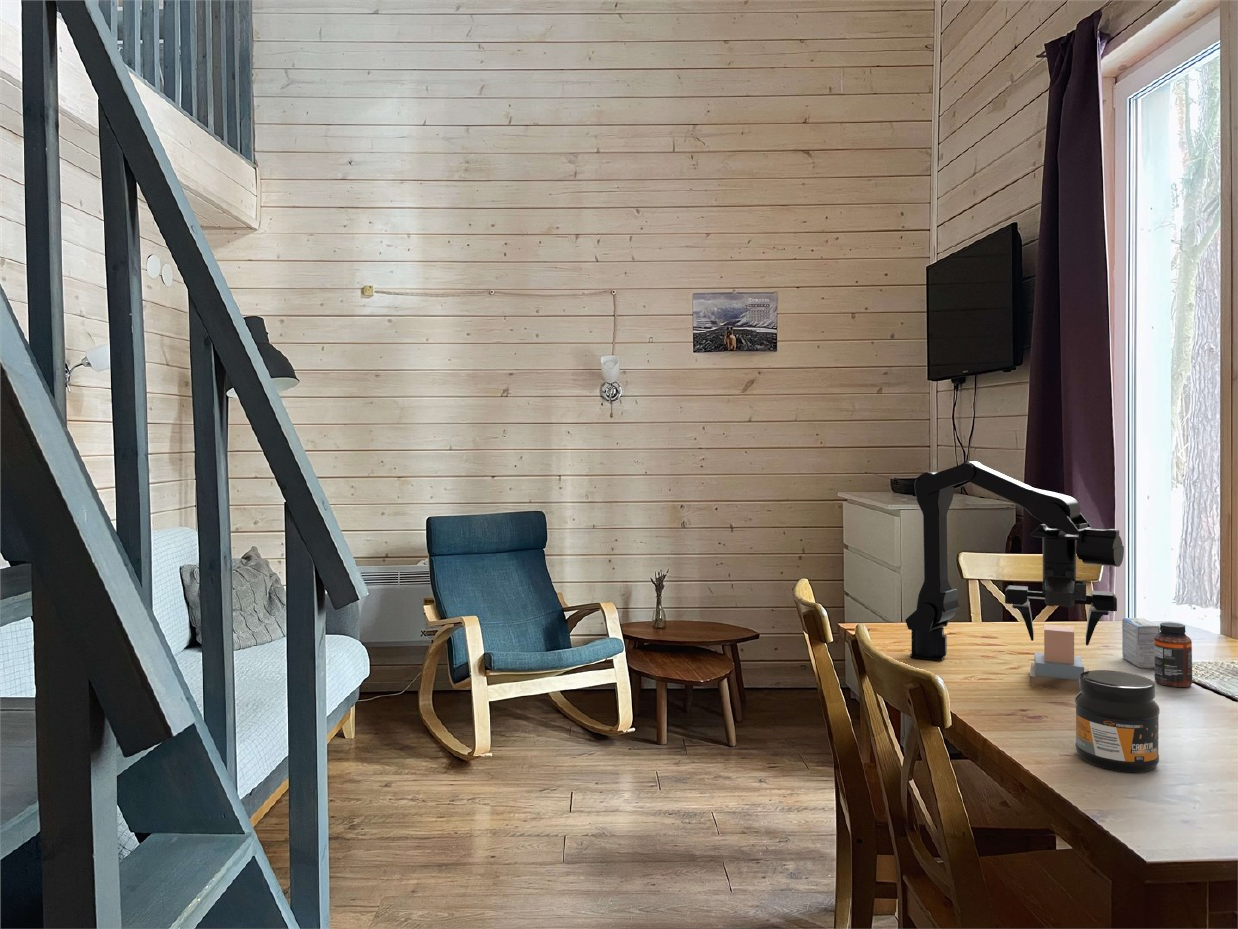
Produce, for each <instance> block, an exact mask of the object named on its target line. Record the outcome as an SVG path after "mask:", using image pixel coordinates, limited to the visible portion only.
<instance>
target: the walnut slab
mask: <svg viewBox="0 0 1238 929" xmlns="http://www.w3.org/2000/svg"><path fill="white" fill-rule="evenodd" d="M1086 671H1090V669H1089V668H1085V667H1084V672H1086ZM1029 686H1030V687H1038V688H1047V689H1054V690H1057V689H1058V690H1066V691H1074V692H1075V691H1076V692H1080V691H1081V690H1080V689H1079V680H1073V679H1062V678H1052V677H1042V676H1036V673H1035V662H1031V663H1030V670H1029Z"/></svg>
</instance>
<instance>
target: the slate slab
mask: <svg viewBox="0 0 1238 929" xmlns="http://www.w3.org/2000/svg"><path fill="white" fill-rule="evenodd" d="M1034 663H1035V673H1036V676H1042V677H1052V678H1062V679H1073V680H1079V675H1080V674H1081V673H1083V672H1084V668H1085V666H1084V663H1083V659H1082V657H1081V655H1080V656H1076V655H1074V664H1070V663H1060V662H1049V661H1044V652H1034Z"/></svg>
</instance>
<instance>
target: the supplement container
mask: <svg viewBox="0 0 1238 929" xmlns="http://www.w3.org/2000/svg"><path fill="white" fill-rule="evenodd" d="M1079 689H1080V690H1081V691H1078V693H1077V694H1076V695H1075V696H1074V703H1075V751H1076V753H1077V755H1078V756H1079V757H1080V758H1081V759H1083V760H1084V761H1086V762H1087V763H1089V764H1091V765H1093V766H1096V767H1099V768H1102V769H1105V770H1110V771H1114V772H1115V771H1116V772H1123V773H1124V772H1125V773H1143V772H1149V771H1151V770H1153V769H1155V768H1156V767H1157V766H1158V765H1159V762H1160V754H1159V742H1160V741H1159V730H1160V728H1159V727H1160V726H1159V722H1160V720H1159V718H1160V713H1161V711H1160V710H1161V708H1160V705H1159V704H1158V703H1157V702H1156V701H1155V700H1154V699H1156V684H1155V682H1154V681H1153V680H1152V679H1150V678H1148V677H1145V676H1143V675H1139V674H1136V673H1130V672H1124V671H1118V670H1103V669H1101V670H1097V669H1096V670H1094V669H1093V670H1089V671H1086V672H1083V673H1081V674H1080V675H1079Z"/></svg>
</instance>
